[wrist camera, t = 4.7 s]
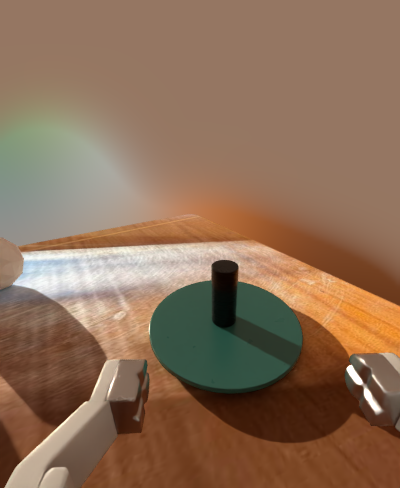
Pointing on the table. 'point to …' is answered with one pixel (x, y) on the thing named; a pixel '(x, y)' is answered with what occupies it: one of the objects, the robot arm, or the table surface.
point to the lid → (225, 334)
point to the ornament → (9, 263)
